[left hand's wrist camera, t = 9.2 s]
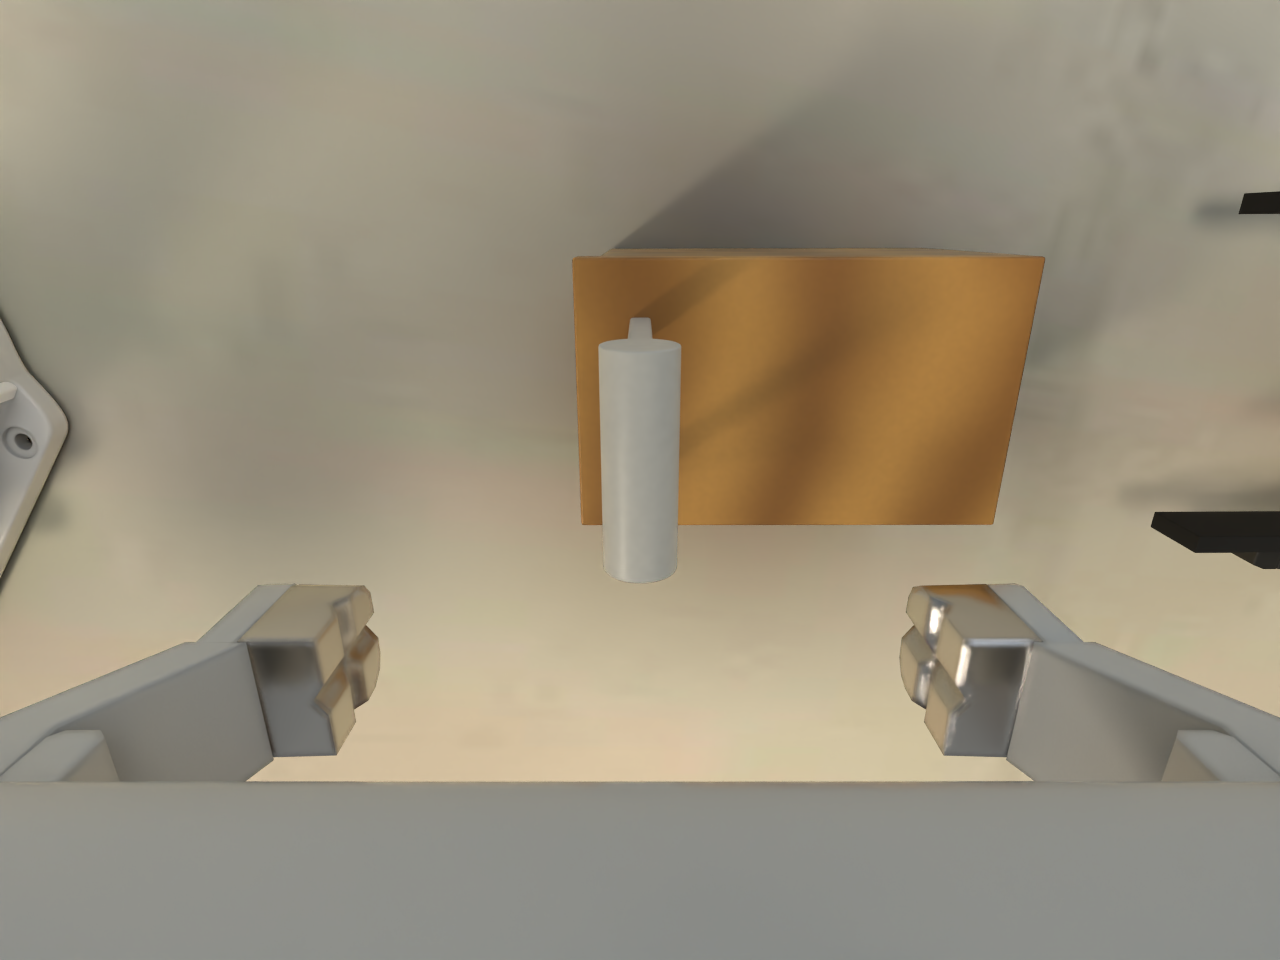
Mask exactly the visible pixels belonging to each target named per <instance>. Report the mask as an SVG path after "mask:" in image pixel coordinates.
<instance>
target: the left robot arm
mask: <svg viewBox="0 0 1280 960" xmlns="http://www.w3.org/2000/svg"><path fill="white" fill-rule="evenodd" d="M67 433H68V421H67V418H66V416H65V414H64V412H63V411H62V409H61V408H60V406H59V405H58V404H57V403H56V401H55V400H54V399H53V398H52V397H51V395H50V394H49V393H48V392H47V391H46V390H45V389H44V388H43V387H42V386H41V385H40V384H39V382H38V381H37V380H36V379H35V378H34V377H33V376H32V375H31V374H30V373H29V372H28V371H27V369H26V367H25V366H24V364H23V363H22V361H21V359H20V357H19V355H18V353H17V351H16V349H15V347H14V345H13V342H12V340H11V338H10V336H9V334H8V332H7V330H6V328H5V326H4V324H3V322H2V320H1V318H0V578H1V576H2V574H3V571H4V569H5V567H6V565H7V563H8V561H9V559H10V556H11V554H12V552H13V550H14V548H15V546H16V543H17V541H18V539H19V537H20V535H21V533H22V531H23V528H24V526H25V524H26V522H27V520H28V518H29V516H30V513H31V511H32V509H33V507H34V505H35V503H36V500H37V498H38V496H39V494H40V492H41V490H42V488H43V485H44V483H45V481H46V479H47V477H48V475H49V473H50V470H51V468H52V466H53V464H54V462H55V460H56V458H57V455H58V453H59V451H60V449H61V447H62V445H63V442H64V440H65V438H66V436H67ZM27 436H28V437H29V438H30V439H31V441H32V443H30V442H29V441H28V439H27ZM373 613H374V609H373V604H372V599H371V594H370V592H369V590H368V589H367V588H366V587H365V586H364V585H311V584H299V585H297V584H265V585H258V586H257V587H256V588H254V589H253V590H252V591H251V592H250V593H249V594H248V595H247V596H246V597H245V598H244V599H243V600H241V601H240V602H239V603H238V604H237V605H236V606H235V607H234V608H233V609H232V610H231V611H230V612H228V613H227V614H226V615H225V616H224V617H223V618H222V619H221V620H220V621H219V622H218V623H216V624H215V625H214V626H213V627H212V628H211V629H210V630H209V631H208V632H207V633H206V634H205V635H203V636H202V637H201V638H200V639H199V640H198V641H197V642H185V643H182V644H180V645H177V646H175V647H172V648H170V649H167V650H165V651H162V652H160V653H158V654H155V655H153V656H150V657H148V658H145V659H143V660H140V661H138V662H135V663H133V664H131V665H128V666H126V667H123V668H121V669H118V670H116V671H113V672H111V673H108V674H106V675H104V676H101V677H99V678H96V679H94V680H91V681H89V682H86V683H84V684H81V685H79V686H77V687H74V688H72V689H69V690H67V691H64V692H62V693H59V694H57V695H54V696H52V697H50V698H47V699H45V700H42V701H40V702H37V703H35V704H32V705H30V706H27V707H25V708H23V709H20V710H18V711H15V712H13V713H10V714H8V715H5V716H3V717H0V960H1280V718H1279V717H1277V716H1274V715H1272V714H1269V713H1267V712H1264V711H1262V710H1259V709H1257V708H1255V707H1252V706H1250V705H1247V704H1245V703H1242V702H1240V701H1237V700H1235V699H1233V698H1230V697H1228V696H1225V695H1223V694H1220V693H1218V692H1215V691H1213V690H1211V689H1208V688H1206V687H1203V686H1201V685H1198V684H1196V683H1193V682H1191V681H1188V680H1186V679H1184V678H1181V677H1179V676H1176V675H1174V674H1171V673H1169V672H1166V671H1164V670H1162V669H1159V668H1157V667H1154V666H1152V665H1149V664H1147V663H1144V662H1142V661H1140V660H1137V659H1135V658H1132V657H1130V656H1127V655H1125V654H1122V653H1120V652H1118V651H1115V650H1113V649H1110V648H1108V647H1105V646H1103V645H1100V644H1098V643H1096V642H1083V641H1082V640H1081V639H1080V638H1079V637H1078V636H1077V635H1076V634H1074V633H1073V632H1072V631H1071V630H1070V629H1069V628H1068V627H1067V626H1066V625H1065V624H1064V623H1063V622H1061V621H1060V620H1059V619H1058V618H1057V617H1056V616H1055V615H1054V614H1053V613H1052V612H1051V611H1050V610H1048V609H1047V608H1046V607H1045V606H1044V605H1043V604H1042V603H1041V602H1040V601H1039V600H1038V599H1037V598H1035V597H1034V596H1033V595H1032V594H1031V593H1030V592H1029V591H1028V590H1027V589H1026V588H1025V587H1024V586H1021V585H1018V584H1014V583H1012V584H989V585H986V584H973V585H931V586H917V587H913V588H912V590H911V593H910V595H909V597H908V603H907V608H906V613H907V615H908V616H909V618H910V619H911V621H912V622H913V624H914V626H913V627H912V628H911V629H910V630H909V631H908V632H907V633H906V634H905V635H904V636H903V637H902V640H901V649H900V657H899V658H900V668H901V677H902V680H903V683H904V686H905V689H906V691H907V693H908V695H909V696H910V698H911V700H912V701H913V702H915V703H916V704H918V705H920V706H921V707H923V708H924V709H926V713H925V719H924V723H925V724H926V726H927V728H928V729H929V731H930V733H931V735H932V736H933V738H934V740H935V741H936V743H937V745H938V747H939V748H940V750H941V752H942V753H943V755H947V756H984V757H1007V758H1006V760H1007V761H1008V762H1010V763H1011V764H1012V765H1014V766H1015V767H1016V768H1018V769H1019V770H1020V771H1022V772H1023V773H1024V774H1026V775H1027V776H1028V777H1030V778H1031V779H1032V780H1034V781H745V782H245V781H246V780H248V779H249V778H250V777H252V776H253V775H254V774H256V773H257V772H258V771H260V770H261V769H262V768H264V767H265V766H266V765H268V764H269V763H270V762H272V761H273V760H274V759H273V757H295V756H331V755H337V754H338V752H339V750H340V748H341V747H342V745H343V743H344V742H345V740H346V738H347V736H348V735H349V733H350V731H351V730H352V728H353V726H354V724H355V723H356V719H355V713H354V709H356V708H357V707H359V706H360V705H362V704H364V703H365V702H367V701H368V700H369V698H370V696H371V694H372V693H373V691H374V689H375V687H376V683H377V679H378V675H379V670H380V647H379V640H378V637H377V636H376V635H375V634H374V633H373V632H372V631H371V630H370V629H369V628H368V627H367V626H366V624H367V622H368V621H369V619H370V618H371V616H372V615H373Z"/></svg>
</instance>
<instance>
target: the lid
mask: <svg viewBox="0 0 1280 960" xmlns="http://www.w3.org/2000/svg"><path fill="white" fill-rule="evenodd" d="M1044 263H1045V258H1044V257H1042V256H1028V255H987V256H577V257H575V258H573V260H572V268H573V296H574V325H575V354H576V382H577V411H578V439H579V468H580V496H581V523H582V525H603V567H604V570H605V571H606V573H607V574H608V575H610V576H611V577H613V578H615V579H617V580H620V581H623V582H628V583H652V582H657V581H661V580H663V579H666V578H668V577H669V576H671V575H672V574H673V573H674V572H675V570H676V568H677V543H678V525H992V524H993V522H994V517H995V512H996V507H997V502H998V497H999V492H1000V486H1001V481H1002V476H1003V471H1004V466H1005V461H1006V456H1007V451H1008V446H1009V441H1010V436H1011V431H1012V425H1013V420H1014V415H1015V410H1016V405H1017V400H1018V395H1019V390H1020V385H1021V380H1022V375H1023V369H1024V364H1025V359H1026V354H1027V349H1028V344H1029V339H1030V334H1031V329H1032V324H1033V319H1034V313H1035V308H1036V303H1037V298H1038V293H1039V288H1040V283H1041V278H1042V273H1043V268H1044Z"/></svg>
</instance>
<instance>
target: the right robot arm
mask: <svg viewBox="0 0 1280 960" xmlns="http://www.w3.org/2000/svg"><path fill="white" fill-rule="evenodd" d="M1239 214H1280V192H1263V193H1246V194H1244V197H1243V200H1242V204H1241V207H1240V211H1239ZM1151 527H1152V528H1154V529H1155V530H1157V531H1159V532H1161V533H1162V534H1164V535H1166V536H1167V537H1169V538H1171V539H1172V540H1174V541H1176V542H1178V543H1179V544H1181V545H1183V546H1184V547H1186V548H1188V549H1190V550H1191V551H1193V552H1195V553H1233V554H1235V555H1236V556H1238V557H1240V558H1242V559H1244V560H1246V561H1247V562H1249V563H1251V564H1253V565H1255V566H1258V567H1260V568H1263V569H1276V568H1277V569H1280V511H1249V512H1155V514H1154V517H1153V521H1152V524H1151Z"/></svg>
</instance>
